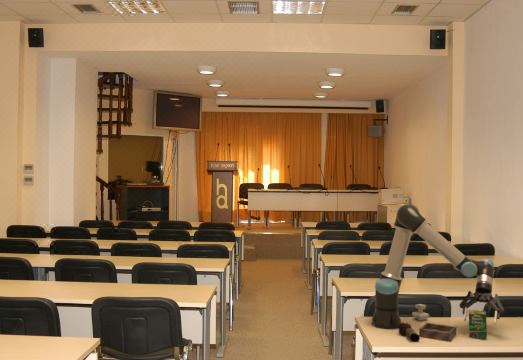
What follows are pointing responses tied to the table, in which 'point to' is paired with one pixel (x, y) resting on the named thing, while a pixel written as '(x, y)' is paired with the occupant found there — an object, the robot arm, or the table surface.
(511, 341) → the table surface
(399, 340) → the table surface
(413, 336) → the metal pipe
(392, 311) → the robot arm
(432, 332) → the gray square frame
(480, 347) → the table surface
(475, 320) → the coffee box
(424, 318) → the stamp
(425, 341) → the table surface
